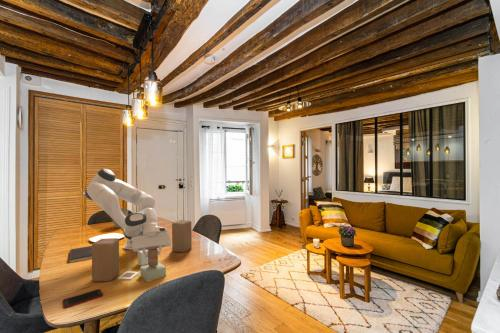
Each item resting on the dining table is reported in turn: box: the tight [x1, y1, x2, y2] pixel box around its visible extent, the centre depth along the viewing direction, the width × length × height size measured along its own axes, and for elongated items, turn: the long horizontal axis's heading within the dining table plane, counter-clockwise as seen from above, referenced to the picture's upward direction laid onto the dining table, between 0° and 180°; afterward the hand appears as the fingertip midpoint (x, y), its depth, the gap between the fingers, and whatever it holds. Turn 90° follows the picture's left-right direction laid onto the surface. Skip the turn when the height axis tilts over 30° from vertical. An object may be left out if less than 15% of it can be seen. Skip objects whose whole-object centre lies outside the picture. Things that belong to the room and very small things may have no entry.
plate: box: [88, 232, 126, 243], centre depth 197 cm, size 23×23×2 cm
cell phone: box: [62, 288, 104, 309], centre depth 110 cm, size 8×15×1 cm, turn 131°
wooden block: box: [91, 238, 120, 283], centre depth 131 cm, size 10×10×20 cm
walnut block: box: [147, 248, 159, 267], centre depth 133 cm, size 4×4×8 cm
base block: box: [139, 261, 167, 283], centre depth 133 cm, size 10×10×5 cm
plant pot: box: [111, 208, 129, 229], centre depth 235 cm, size 15×15×16 cm
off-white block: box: [137, 250, 148, 267], centre depth 148 cm, size 4×4×8 cm
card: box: [116, 270, 140, 281], centre depth 132 cm, size 8×8×1 cm
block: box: [171, 219, 193, 253], centre depth 172 cm, size 10×10×20 cm
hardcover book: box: [67, 245, 92, 264], centre depth 164 cm, size 16×23×2 cm
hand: (153, 255), depth 132 cm, fingers open, 5 cm apart
